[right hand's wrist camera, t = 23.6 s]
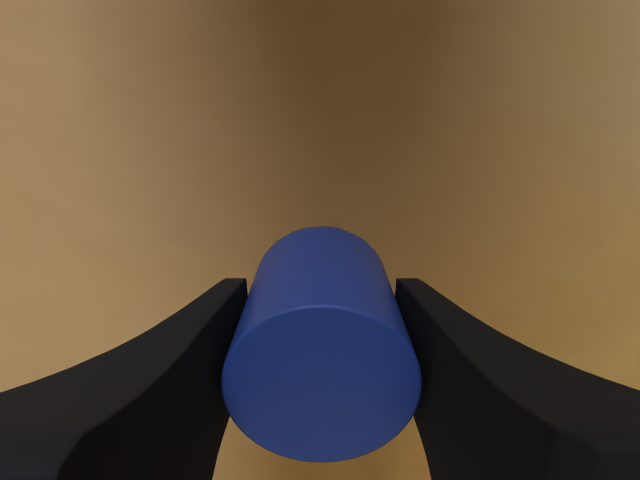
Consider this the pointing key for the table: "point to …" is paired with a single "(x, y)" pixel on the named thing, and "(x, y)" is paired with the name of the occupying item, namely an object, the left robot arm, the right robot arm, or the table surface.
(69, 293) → the table surface
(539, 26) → the table surface
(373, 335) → the canister
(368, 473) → the table surface
